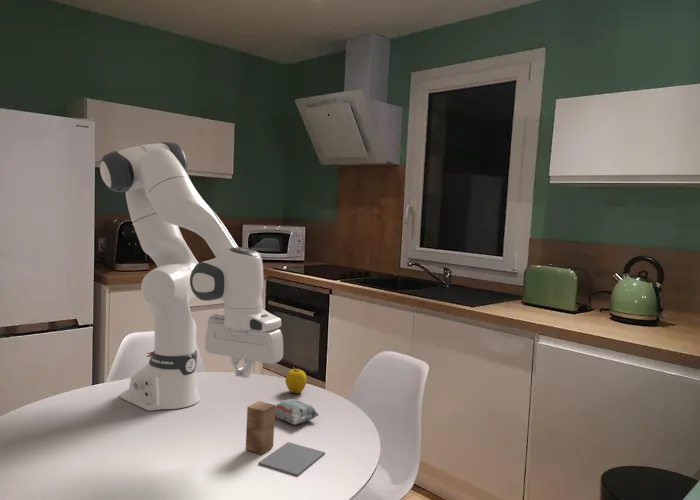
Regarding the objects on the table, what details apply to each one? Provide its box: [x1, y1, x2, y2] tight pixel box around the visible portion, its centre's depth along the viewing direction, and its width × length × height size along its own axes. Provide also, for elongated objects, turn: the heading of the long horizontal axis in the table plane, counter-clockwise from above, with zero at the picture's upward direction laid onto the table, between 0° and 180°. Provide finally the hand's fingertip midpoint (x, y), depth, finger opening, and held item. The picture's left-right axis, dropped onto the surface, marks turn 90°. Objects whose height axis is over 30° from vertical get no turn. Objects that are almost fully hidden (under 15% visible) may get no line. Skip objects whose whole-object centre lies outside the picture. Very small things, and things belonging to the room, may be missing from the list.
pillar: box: [245, 400, 276, 455], centre depth 120 cm, size 4×4×10 cm
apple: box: [285, 366, 308, 394], centre depth 159 cm, size 6×6×8 cm
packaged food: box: [274, 398, 319, 425], centre depth 139 cm, size 9×12×5 cm
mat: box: [257, 441, 326, 477], centre depth 117 cm, size 10×12×1 cm
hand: (242, 376), depth 122 cm, fingers closed
